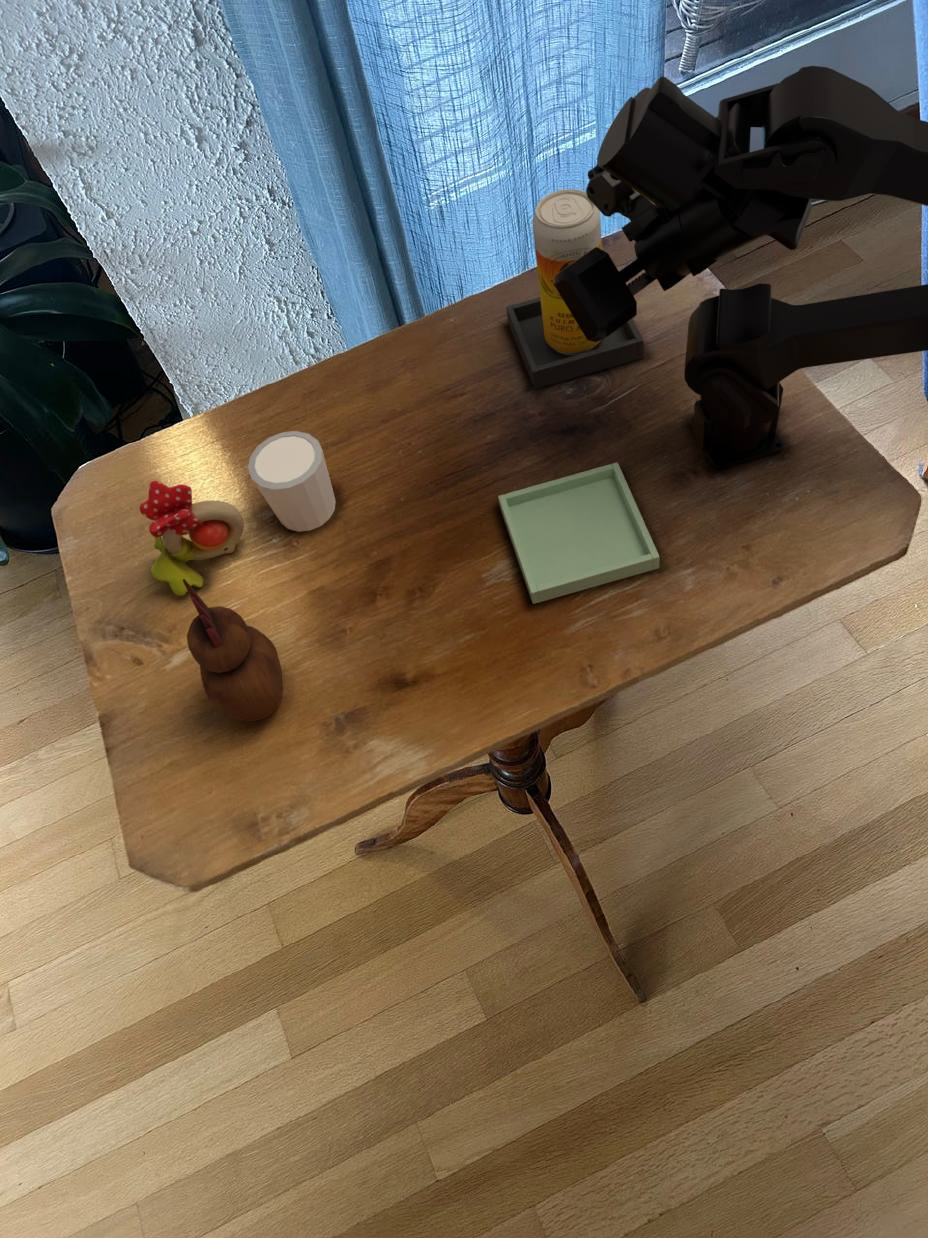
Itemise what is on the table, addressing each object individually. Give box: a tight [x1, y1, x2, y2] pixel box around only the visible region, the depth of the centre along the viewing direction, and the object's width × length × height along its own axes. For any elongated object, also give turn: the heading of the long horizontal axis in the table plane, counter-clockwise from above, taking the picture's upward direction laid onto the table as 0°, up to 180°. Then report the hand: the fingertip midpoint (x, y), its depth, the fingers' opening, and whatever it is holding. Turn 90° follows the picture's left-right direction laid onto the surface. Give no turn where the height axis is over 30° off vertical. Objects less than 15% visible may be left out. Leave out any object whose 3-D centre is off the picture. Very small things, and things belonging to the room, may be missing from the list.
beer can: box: [531, 188, 603, 355], centre depth 94 cm, size 6×6×15 cm
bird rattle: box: [139, 480, 245, 597], centre depth 88 cm, size 6×11×9 cm
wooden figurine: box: [182, 579, 284, 722], centre depth 77 cm, size 7×6×15 cm
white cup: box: [247, 430, 336, 533], centre depth 91 cm, size 7×7×7 cm
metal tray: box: [505, 296, 644, 390], centre depth 100 cm, size 11×10×2 cm
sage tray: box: [497, 462, 660, 605], centre depth 87 cm, size 11×11×2 cm
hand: (608, 278), depth 88 cm, fingers open, 9 cm apart
